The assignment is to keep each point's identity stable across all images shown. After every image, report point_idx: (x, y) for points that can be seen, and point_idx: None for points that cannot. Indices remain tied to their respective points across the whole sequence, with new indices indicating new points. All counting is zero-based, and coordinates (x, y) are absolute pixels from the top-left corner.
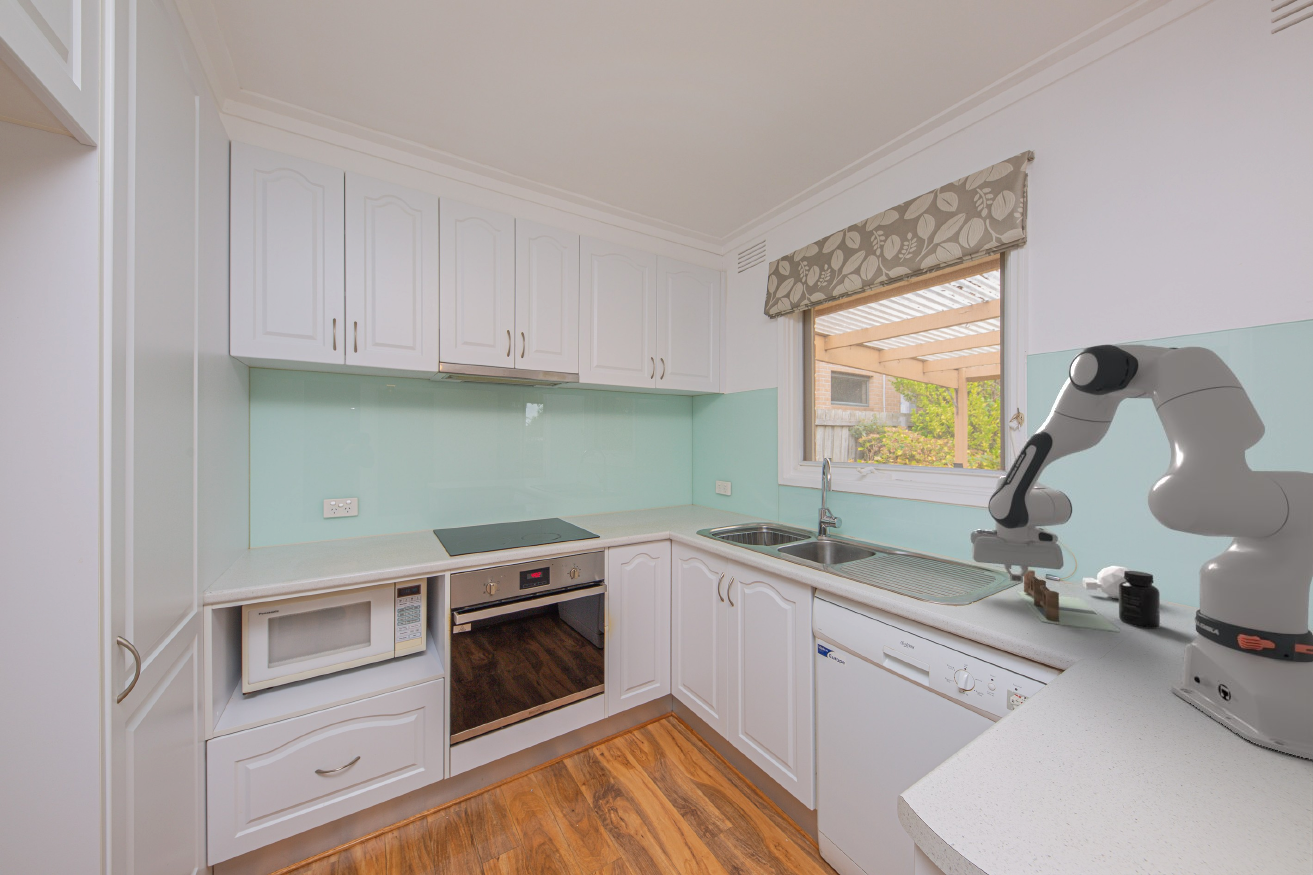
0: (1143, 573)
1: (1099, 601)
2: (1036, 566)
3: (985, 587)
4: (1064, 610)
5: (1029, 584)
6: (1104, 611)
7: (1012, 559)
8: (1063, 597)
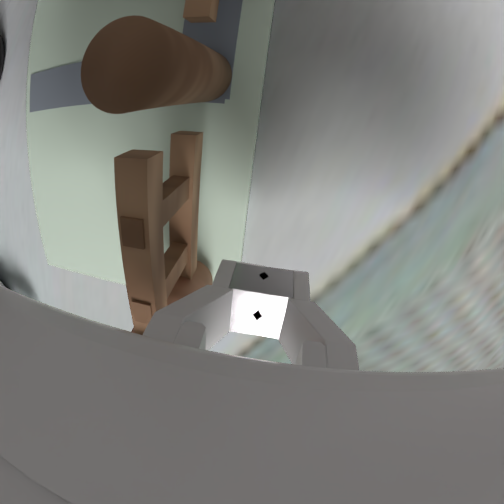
0: None
1: (19, 253)
2: (62, 315)
3: (348, 335)
4: None
5: (178, 289)
6: (12, 145)
7: (305, 432)
8: (83, 259)
